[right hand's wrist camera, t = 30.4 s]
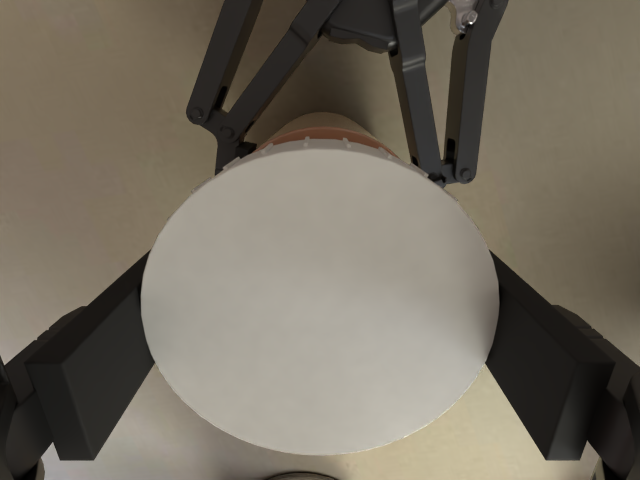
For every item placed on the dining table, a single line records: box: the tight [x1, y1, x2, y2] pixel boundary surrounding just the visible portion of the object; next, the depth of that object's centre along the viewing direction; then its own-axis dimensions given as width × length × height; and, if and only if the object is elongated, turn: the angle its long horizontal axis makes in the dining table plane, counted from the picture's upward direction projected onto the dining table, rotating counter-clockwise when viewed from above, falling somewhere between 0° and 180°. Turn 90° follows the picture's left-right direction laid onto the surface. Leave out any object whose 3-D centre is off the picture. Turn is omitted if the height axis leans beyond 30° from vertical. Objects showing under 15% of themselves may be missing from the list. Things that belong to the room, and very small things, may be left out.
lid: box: [140, 136, 500, 455], centre depth 11 cm, size 10×10×2 cm
